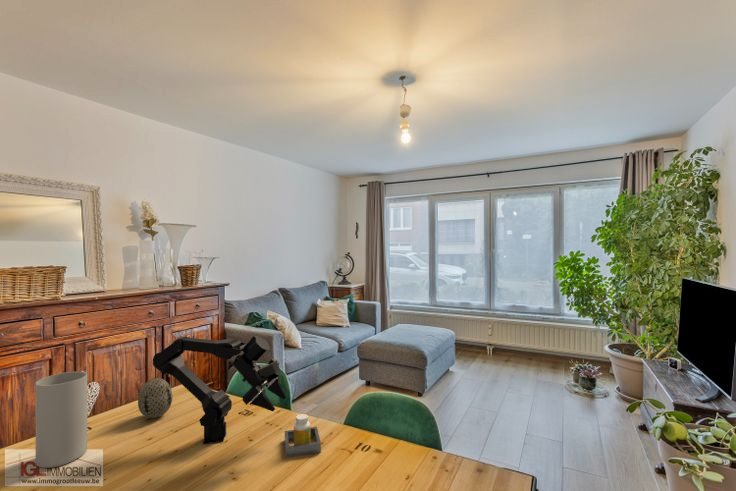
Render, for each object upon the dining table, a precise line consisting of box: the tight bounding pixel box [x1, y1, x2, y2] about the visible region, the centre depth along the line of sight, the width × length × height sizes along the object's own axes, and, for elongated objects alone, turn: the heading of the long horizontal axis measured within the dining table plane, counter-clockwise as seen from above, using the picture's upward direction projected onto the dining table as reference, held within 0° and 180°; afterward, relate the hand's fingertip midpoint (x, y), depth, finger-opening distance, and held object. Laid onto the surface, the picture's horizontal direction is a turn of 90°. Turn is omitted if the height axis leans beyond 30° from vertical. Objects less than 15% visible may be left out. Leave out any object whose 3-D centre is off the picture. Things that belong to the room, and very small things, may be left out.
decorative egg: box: [137, 377, 174, 419], centre depth 141 cm, size 12×12×15 cm
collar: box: [284, 426, 322, 459], centre depth 119 cm, size 11×11×3 cm
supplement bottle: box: [293, 413, 311, 445], centre depth 120 cm, size 5×5×10 cm
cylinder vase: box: [35, 371, 88, 469], centre depth 114 cm, size 12×12×25 cm
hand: (279, 404), depth 121 cm, fingers open, 9 cm apart
